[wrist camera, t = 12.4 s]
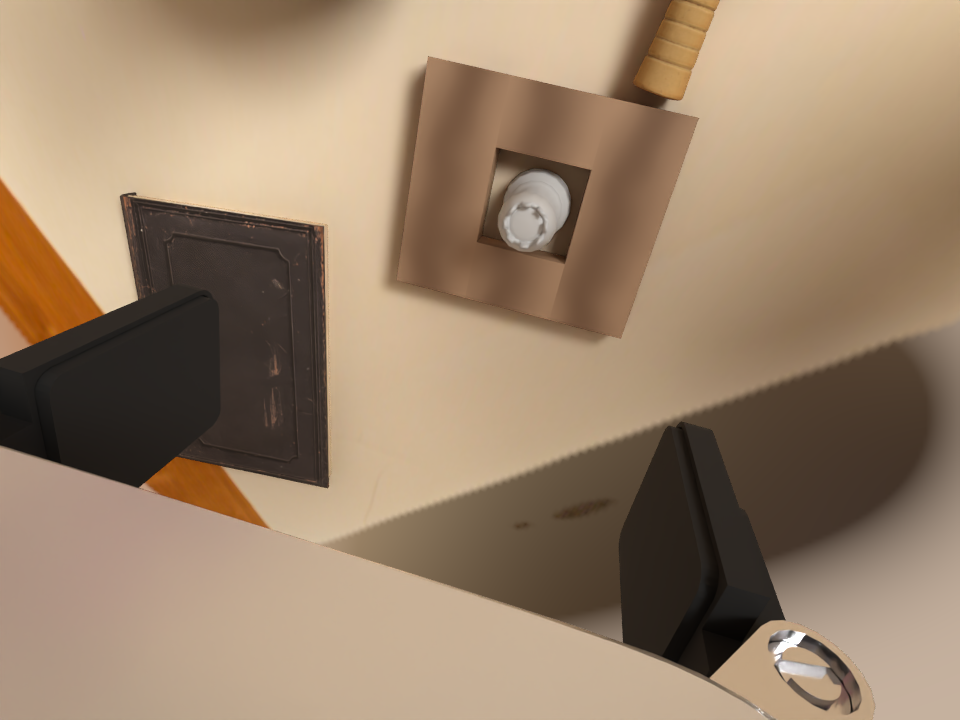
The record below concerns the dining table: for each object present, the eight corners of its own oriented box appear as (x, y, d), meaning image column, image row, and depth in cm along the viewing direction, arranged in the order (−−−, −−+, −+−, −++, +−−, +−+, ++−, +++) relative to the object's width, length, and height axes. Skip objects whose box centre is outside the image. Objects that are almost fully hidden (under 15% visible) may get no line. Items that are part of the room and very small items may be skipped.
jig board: (692, 117, 33) (698, 117, 31) (619, 327, 39) (620, 338, 37) (436, 58, 34) (428, 56, 32) (405, 272, 40) (396, 280, 38)
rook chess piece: (513, 159, 36) (494, 172, 28) (580, 177, 35) (578, 195, 28) (497, 226, 37) (475, 254, 30) (560, 244, 37) (553, 276, 30)
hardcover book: (335, 220, 40) (322, 227, 38) (338, 472, 50) (327, 488, 48) (137, 191, 42) (114, 195, 40) (178, 440, 52) (161, 453, 50)
